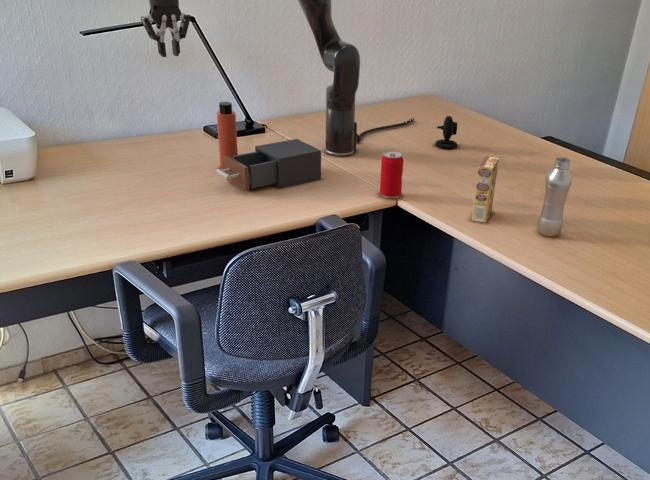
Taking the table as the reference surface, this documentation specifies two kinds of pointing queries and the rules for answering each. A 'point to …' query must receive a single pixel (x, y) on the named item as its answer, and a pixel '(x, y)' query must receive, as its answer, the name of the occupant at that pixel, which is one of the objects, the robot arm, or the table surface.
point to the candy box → (485, 189)
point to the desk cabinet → (294, 161)
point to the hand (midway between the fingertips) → (169, 55)
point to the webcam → (447, 134)
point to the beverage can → (391, 174)
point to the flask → (226, 132)
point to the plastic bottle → (555, 198)
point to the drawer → (250, 170)
